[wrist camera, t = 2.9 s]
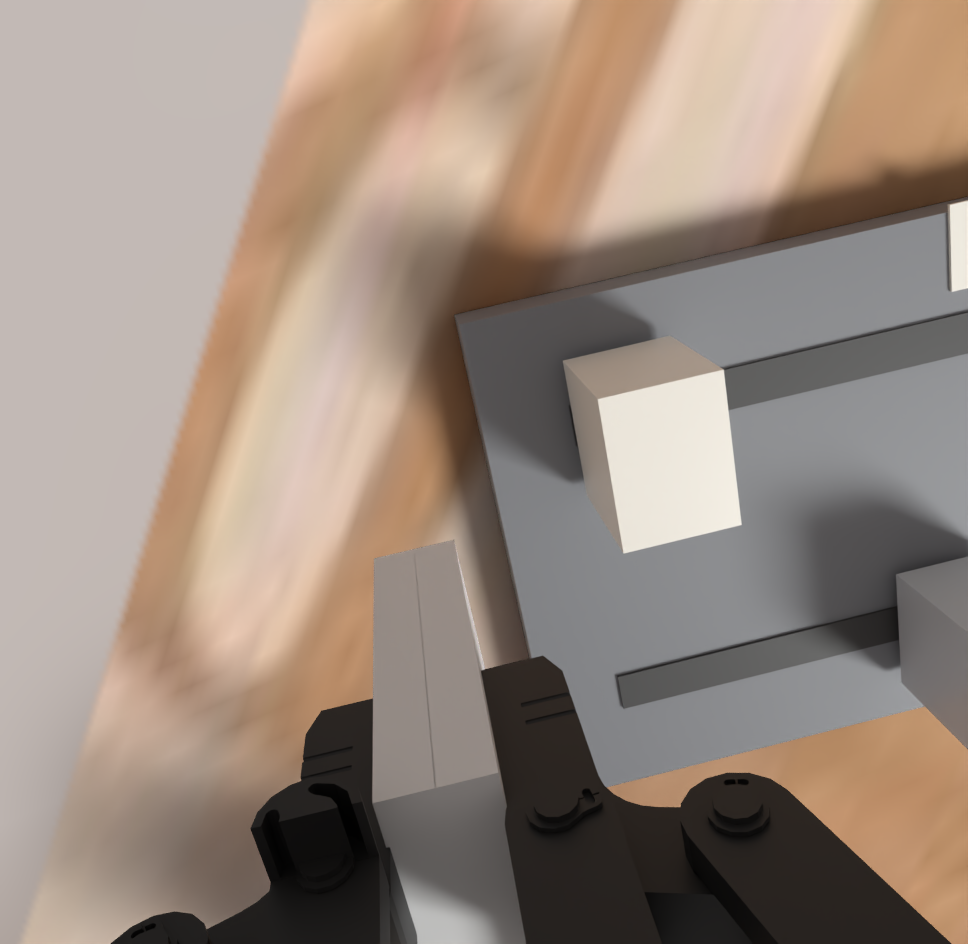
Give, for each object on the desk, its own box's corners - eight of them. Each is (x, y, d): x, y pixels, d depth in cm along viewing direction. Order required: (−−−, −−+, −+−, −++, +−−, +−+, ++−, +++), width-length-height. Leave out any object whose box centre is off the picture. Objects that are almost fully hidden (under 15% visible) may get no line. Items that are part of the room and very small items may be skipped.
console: (554, 774, 32) (564, 805, 30) (452, 308, 26) (457, 318, 24) (1103, 635, 32) (1139, 658, 31) (1123, 153, 27) (1168, 154, 25)
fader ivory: (586, 495, 26) (623, 553, 22) (562, 360, 25) (597, 399, 21) (688, 470, 26) (741, 524, 23) (669, 335, 25) (723, 369, 21)
